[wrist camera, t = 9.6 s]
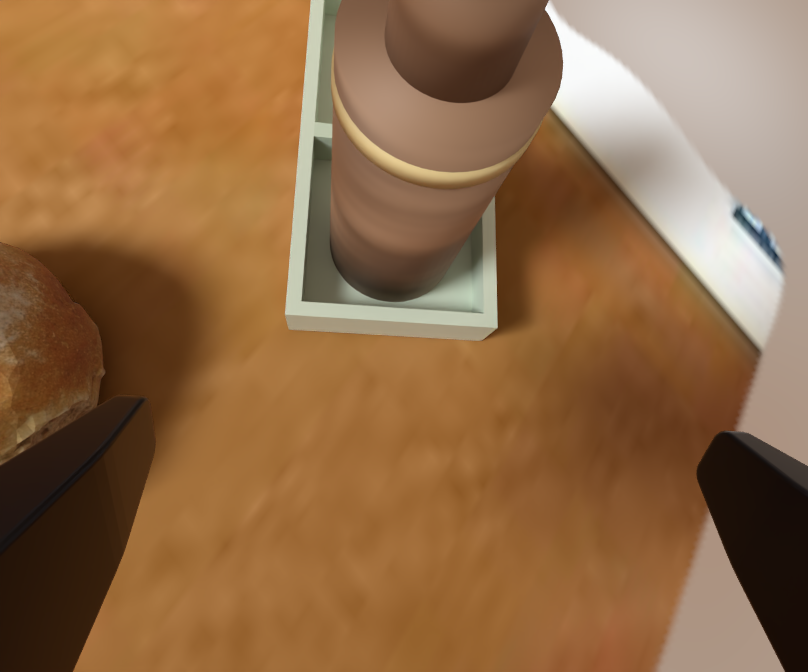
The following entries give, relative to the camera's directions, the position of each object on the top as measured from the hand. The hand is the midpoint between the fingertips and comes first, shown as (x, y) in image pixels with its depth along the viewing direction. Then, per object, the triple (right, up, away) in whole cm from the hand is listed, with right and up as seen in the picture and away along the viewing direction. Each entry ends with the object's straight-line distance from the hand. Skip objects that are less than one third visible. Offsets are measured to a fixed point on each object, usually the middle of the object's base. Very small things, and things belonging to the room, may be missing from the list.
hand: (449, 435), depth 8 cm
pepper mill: (-1, +5, +12) cm, 13 cm away
